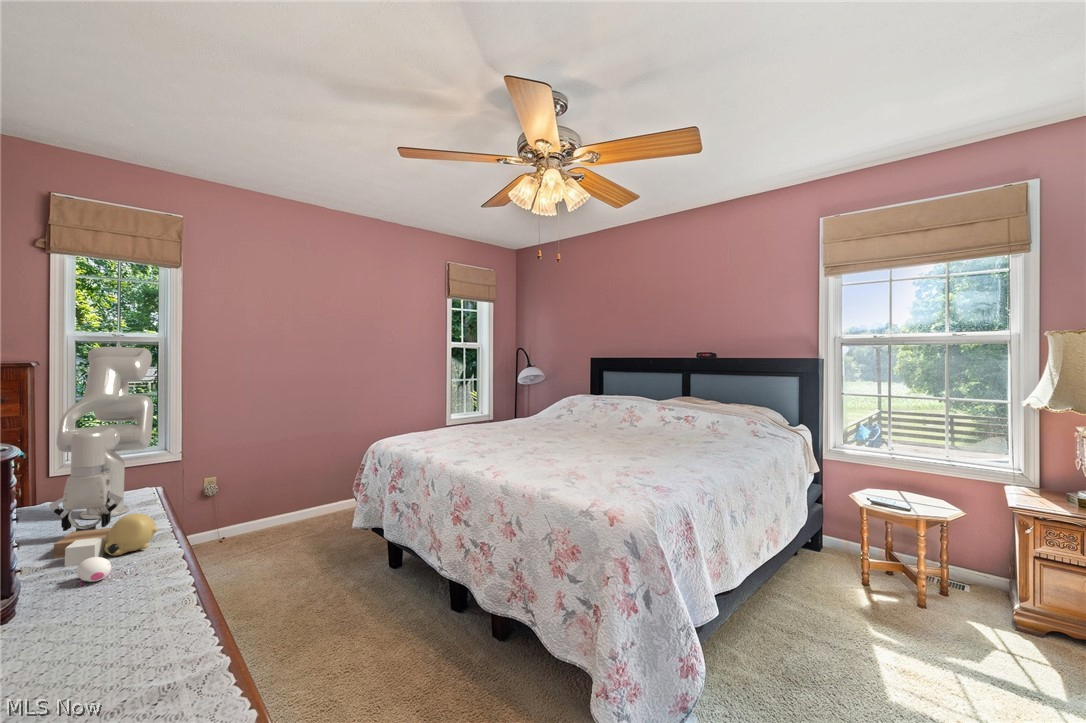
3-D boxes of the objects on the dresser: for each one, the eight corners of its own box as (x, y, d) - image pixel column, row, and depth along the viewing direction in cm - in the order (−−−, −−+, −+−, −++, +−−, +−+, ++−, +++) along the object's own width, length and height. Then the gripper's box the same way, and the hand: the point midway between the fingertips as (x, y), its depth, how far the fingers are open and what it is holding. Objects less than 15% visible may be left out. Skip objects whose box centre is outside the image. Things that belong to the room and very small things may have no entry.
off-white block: (75, 558, 128) (76, 540, 128) (103, 554, 130) (104, 537, 130) (64, 566, 122) (65, 548, 122) (94, 563, 125) (94, 544, 125)
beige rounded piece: (128, 558, 136) (91, 540, 131) (163, 521, 142) (130, 503, 137) (130, 568, 129) (92, 550, 124) (167, 529, 135) (132, 510, 130)
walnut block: (72, 545, 136) (72, 531, 136) (115, 540, 140) (116, 527, 140) (53, 558, 127) (53, 544, 127) (100, 553, 131) (101, 539, 131)
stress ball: (111, 592, 116) (130, 564, 120) (80, 586, 110) (100, 557, 113) (92, 586, 118) (110, 559, 122) (60, 580, 112) (80, 551, 116)
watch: (104, 537, 142) (105, 501, 142) (66, 543, 137) (67, 506, 137) (104, 531, 146) (105, 497, 146) (68, 538, 141) (69, 502, 141)
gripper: (129, 466, 148) (127, 520, 148) (56, 470, 141) (54, 527, 141) (119, 471, 142) (117, 528, 142) (42, 476, 134) (40, 535, 134)
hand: (86, 527), depth 141 cm, fingers closed on watch, 8 cm apart
